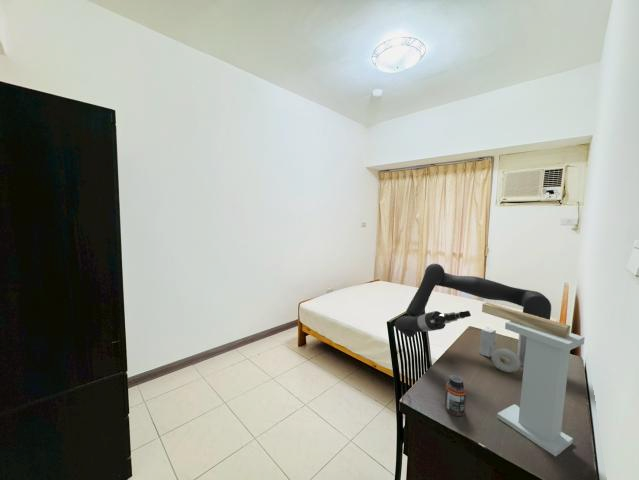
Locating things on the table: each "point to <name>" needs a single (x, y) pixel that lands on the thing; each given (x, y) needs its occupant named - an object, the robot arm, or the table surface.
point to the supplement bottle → (455, 396)
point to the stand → (542, 388)
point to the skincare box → (487, 341)
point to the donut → (509, 354)
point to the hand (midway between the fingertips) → (462, 314)
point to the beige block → (527, 320)
